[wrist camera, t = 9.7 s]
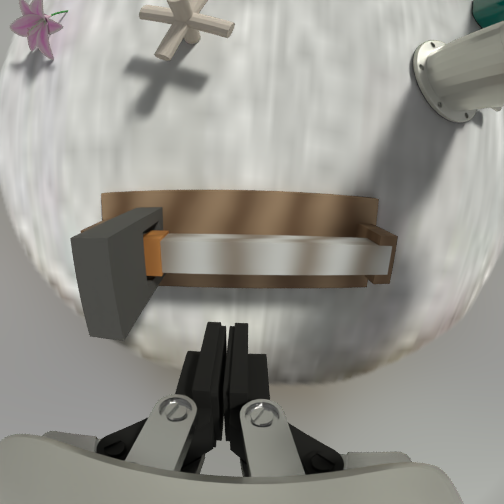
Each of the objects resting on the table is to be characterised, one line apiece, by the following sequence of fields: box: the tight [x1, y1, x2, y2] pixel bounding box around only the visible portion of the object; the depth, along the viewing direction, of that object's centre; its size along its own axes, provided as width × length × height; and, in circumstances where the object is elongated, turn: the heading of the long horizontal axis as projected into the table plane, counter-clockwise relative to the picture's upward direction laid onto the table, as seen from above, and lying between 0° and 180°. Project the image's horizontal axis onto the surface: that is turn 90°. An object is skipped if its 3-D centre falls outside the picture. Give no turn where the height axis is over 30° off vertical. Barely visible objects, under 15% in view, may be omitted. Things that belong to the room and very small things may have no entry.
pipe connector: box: [139, 0, 235, 61], centre depth 20 cm, size 10×10×10 cm
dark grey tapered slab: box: [71, 207, 166, 341], centre depth 23 cm, size 3×8×14 cm, turn 178°
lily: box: [10, 0, 68, 60], centre depth 18 cm, size 12×12×10 cm
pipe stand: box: [81, 190, 398, 288], centre depth 28 cm, size 32×11×7 cm, turn 88°
